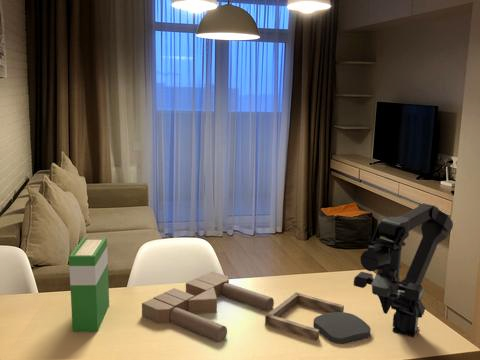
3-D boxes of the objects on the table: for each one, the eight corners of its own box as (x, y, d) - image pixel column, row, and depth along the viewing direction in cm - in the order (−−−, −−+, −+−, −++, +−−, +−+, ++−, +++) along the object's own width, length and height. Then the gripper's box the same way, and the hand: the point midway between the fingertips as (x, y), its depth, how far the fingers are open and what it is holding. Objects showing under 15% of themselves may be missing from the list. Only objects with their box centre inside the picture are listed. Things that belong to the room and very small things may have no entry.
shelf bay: (343, 313, 165) (343, 305, 165) (316, 341, 148) (317, 331, 147) (295, 300, 174) (295, 292, 174) (265, 324, 157) (265, 315, 156)
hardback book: (86, 305, 167) (83, 237, 163) (109, 305, 168) (106, 237, 163) (72, 332, 150) (68, 256, 145) (97, 331, 151) (94, 256, 146)
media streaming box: (335, 347, 145) (335, 338, 145) (308, 324, 158) (308, 316, 158) (375, 338, 151) (376, 328, 150) (346, 316, 164) (347, 308, 164)
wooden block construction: (141, 318, 161) (211, 348, 144) (141, 302, 160) (211, 331, 142) (212, 284, 188) (277, 306, 171) (212, 270, 187) (278, 291, 170)
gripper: (348, 264, 141) (345, 315, 144) (416, 279, 131) (411, 333, 134) (361, 252, 150) (358, 301, 153) (426, 266, 140) (421, 317, 143)
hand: (385, 313), depth 146 cm, fingers closed
